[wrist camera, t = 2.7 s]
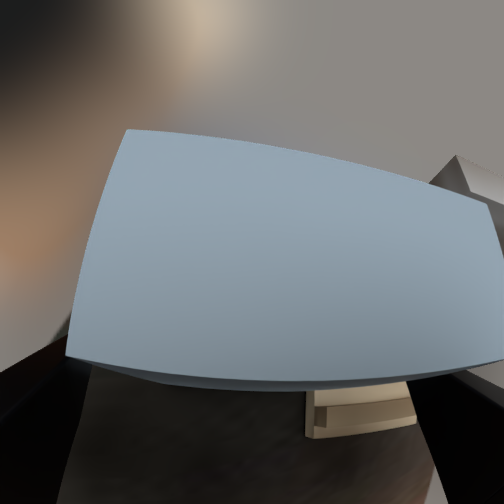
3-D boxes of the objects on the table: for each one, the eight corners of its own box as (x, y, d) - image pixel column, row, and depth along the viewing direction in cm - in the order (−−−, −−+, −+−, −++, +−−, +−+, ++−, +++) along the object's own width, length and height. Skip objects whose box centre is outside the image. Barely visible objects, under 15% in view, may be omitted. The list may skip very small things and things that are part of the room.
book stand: (404, 423, 15) (589, 402, 4) (305, 436, 14) (505, 472, 3) (396, 285, 19) (540, 179, 8) (305, 276, 18) (440, 122, 7)
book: (292, 391, 15) (520, 355, 4) (164, 384, 14) (64, 355, 3) (293, 336, 16) (486, 203, 5) (169, 326, 15) (126, 129, 4)
